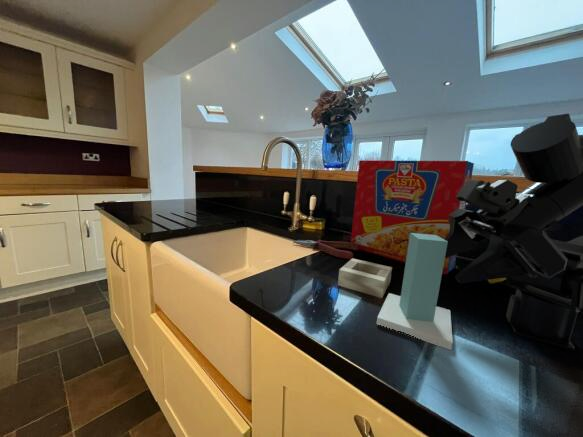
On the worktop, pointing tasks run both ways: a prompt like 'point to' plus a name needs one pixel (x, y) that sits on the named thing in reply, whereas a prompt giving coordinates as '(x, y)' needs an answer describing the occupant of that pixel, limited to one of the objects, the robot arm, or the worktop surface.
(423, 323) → the pad
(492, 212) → the robot arm
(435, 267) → the post
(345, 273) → the socket block
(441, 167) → the pasta box
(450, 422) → the worktop surface
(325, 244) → the pliers
